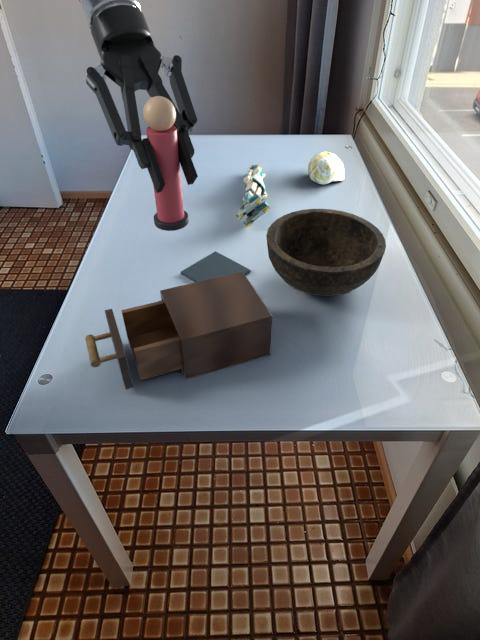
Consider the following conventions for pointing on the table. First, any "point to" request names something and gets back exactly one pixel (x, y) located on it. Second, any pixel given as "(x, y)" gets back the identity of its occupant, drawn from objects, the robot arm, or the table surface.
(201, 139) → the table surface
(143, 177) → the table surface
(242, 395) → the table surface
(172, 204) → the ball-topped pink peg
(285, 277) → the bowl
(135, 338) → the drawer
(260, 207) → the figurine
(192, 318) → the cabinet
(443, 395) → the table surface
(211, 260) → the mat
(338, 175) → the seashell
